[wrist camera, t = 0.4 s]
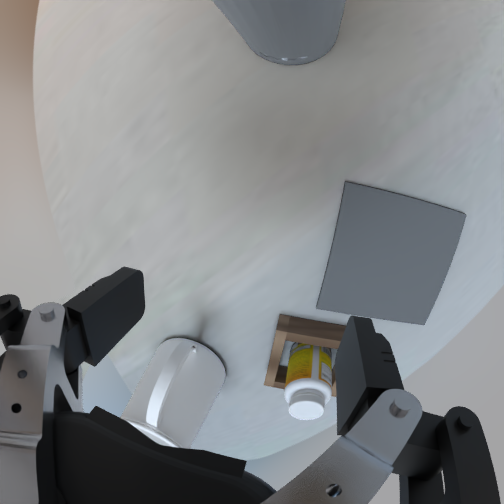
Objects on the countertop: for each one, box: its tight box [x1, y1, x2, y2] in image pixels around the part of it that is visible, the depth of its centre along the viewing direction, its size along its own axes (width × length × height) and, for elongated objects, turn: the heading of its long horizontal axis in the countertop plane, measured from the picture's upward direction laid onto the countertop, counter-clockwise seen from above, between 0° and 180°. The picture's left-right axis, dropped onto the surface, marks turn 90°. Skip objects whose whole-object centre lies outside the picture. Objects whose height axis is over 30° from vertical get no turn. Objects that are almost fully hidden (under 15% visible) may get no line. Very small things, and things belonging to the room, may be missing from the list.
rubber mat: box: [316, 181, 466, 325], centre depth 26 cm, size 14×14×1 cm
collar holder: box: [264, 314, 346, 397], centre depth 32 cm, size 10×10×3 cm
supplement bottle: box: [284, 342, 332, 420], centre depth 29 cm, size 5×5×10 cm
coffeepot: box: [120, 338, 226, 449], centre depth 30 cm, size 11×25×19 cm, turn 162°
